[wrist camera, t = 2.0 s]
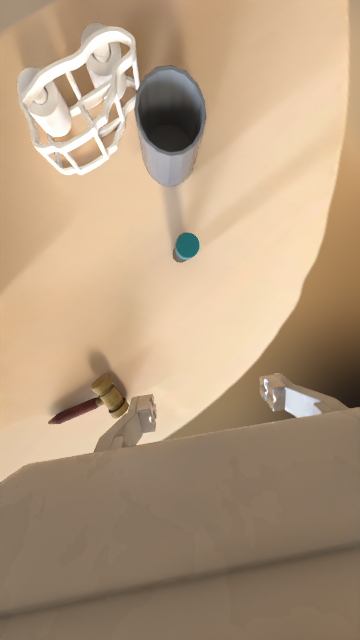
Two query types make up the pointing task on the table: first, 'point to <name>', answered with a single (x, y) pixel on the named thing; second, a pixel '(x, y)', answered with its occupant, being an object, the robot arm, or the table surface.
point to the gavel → (97, 402)
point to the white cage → (109, 85)
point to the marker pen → (185, 247)
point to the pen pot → (169, 123)
